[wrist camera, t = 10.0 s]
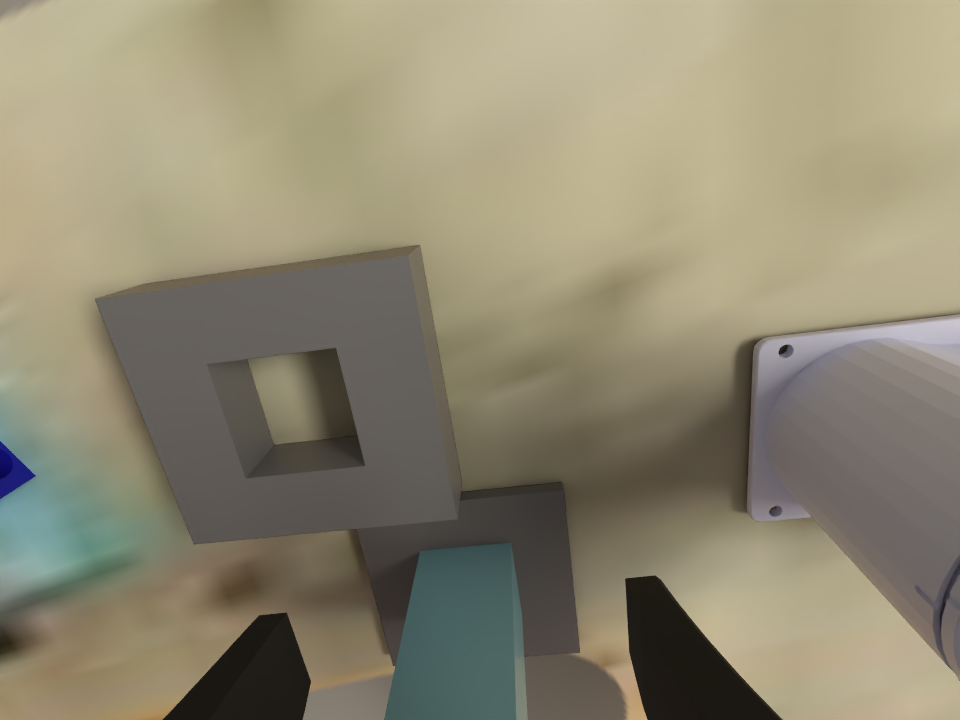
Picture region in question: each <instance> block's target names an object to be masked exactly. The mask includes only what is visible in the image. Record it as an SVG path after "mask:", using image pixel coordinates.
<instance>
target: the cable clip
mask: <svg viewBox="0 0 960 720" xmlns="http://www.w3.org/2000/svg"><path fill="white" fill-rule="evenodd" d="M33 477H35V475H34V474H33V473H32V472H31V471H30V470H29V469H28V468H27V467H26V466H25V465H24V464H23V463H22V462H21V461H20V460H19V459H18V458H17V457H16V456H15V455H14V454H13V453H12V452H11V451H10V450H9V449H8V448H7V447H6V446H5V445H4V444H3V443H2V442H1V441H0V499H1V498H2V497H4V496H6V495H7V494H9V493H10V492H12V491H13V490H15V489H16V488H18V487H19V486H21V485H23V484H24V483H26V482H27V481H29V480H30V479H32V478H33Z"/></svg>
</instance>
